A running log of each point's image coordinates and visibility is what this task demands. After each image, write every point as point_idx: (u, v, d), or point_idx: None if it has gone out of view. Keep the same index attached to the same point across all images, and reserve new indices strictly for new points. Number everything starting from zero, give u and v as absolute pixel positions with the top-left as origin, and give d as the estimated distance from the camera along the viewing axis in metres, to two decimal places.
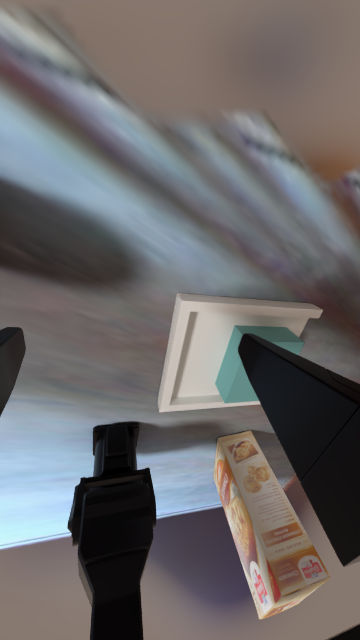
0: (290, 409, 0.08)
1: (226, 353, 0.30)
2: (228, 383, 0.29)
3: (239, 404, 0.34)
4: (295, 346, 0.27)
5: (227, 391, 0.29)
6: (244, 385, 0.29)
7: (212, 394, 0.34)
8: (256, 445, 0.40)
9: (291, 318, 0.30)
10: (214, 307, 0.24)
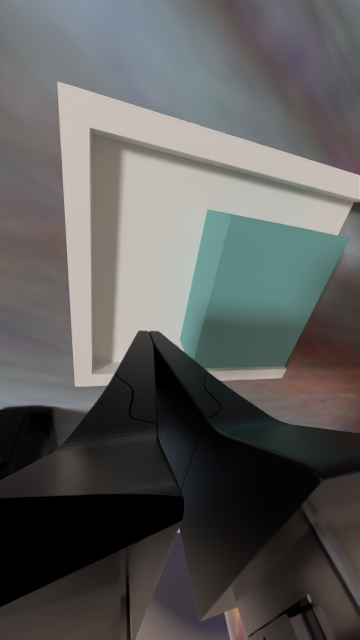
0: (168, 421, 0.07)
1: (195, 274, 0.16)
2: (196, 327, 0.15)
3: (224, 378, 0.20)
4: (330, 245, 0.13)
5: (195, 343, 0.15)
6: (228, 331, 0.15)
7: None
8: None
9: (317, 208, 0.16)
10: (150, 126, 0.10)
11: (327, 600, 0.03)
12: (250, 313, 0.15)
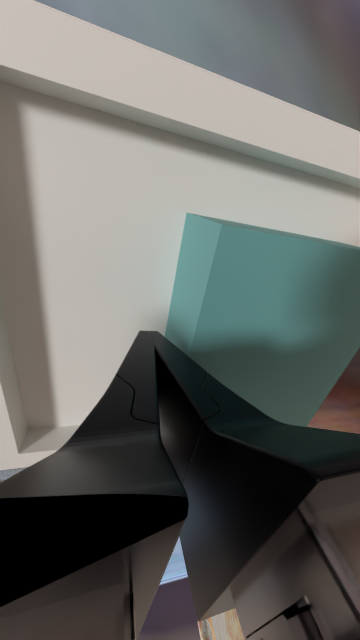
0: (167, 421, 0.07)
1: (171, 309, 0.11)
2: None
3: None
4: None
5: None
6: None
7: None
8: None
9: (352, 211, 0.11)
10: (53, 43, 0.05)
11: (324, 601, 0.03)
12: (254, 376, 0.09)
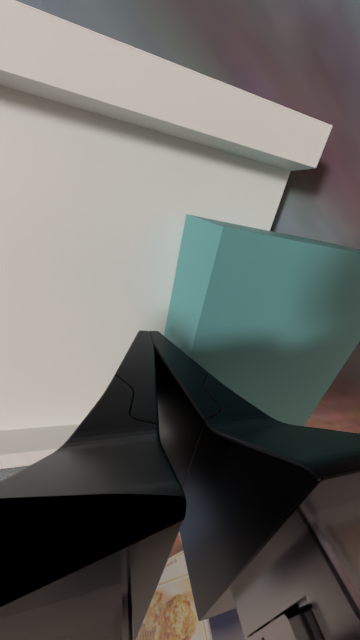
0: (168, 420, 0.07)
1: (170, 310, 0.11)
2: None
3: None
4: None
5: None
6: None
7: (31, 427, 0.13)
8: None
9: (221, 180, 0.09)
10: None
11: (325, 601, 0.03)
12: (253, 376, 0.09)
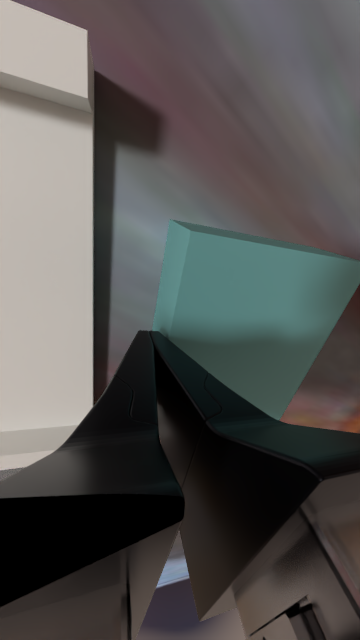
0: (168, 420, 0.07)
1: None
2: None
3: None
4: (343, 274, 0.09)
5: None
6: None
7: None
8: None
9: None
10: None
11: (326, 600, 0.03)
12: (229, 366, 0.10)
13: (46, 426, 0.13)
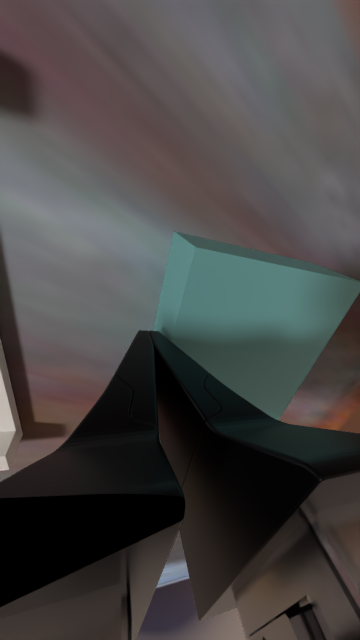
0: (168, 420, 0.07)
1: None
2: None
3: None
4: (339, 292, 0.10)
5: None
6: None
7: None
8: None
9: None
10: None
11: (326, 600, 0.03)
12: (226, 376, 0.11)
13: None
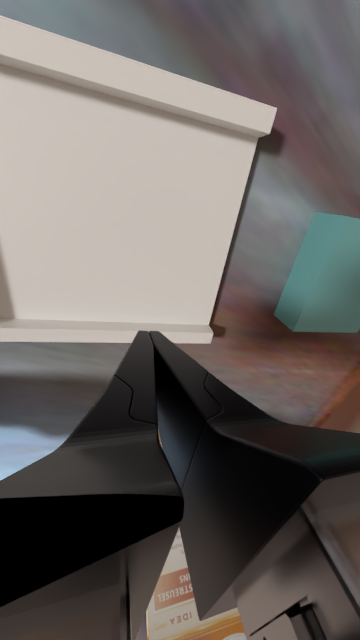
0: (169, 420, 0.07)
1: None
2: (299, 300, 0.20)
3: None
4: None
5: (297, 312, 0.21)
6: (324, 302, 0.20)
7: (91, 320, 0.19)
8: None
9: (214, 144, 0.15)
10: None
11: (327, 600, 0.03)
12: (342, 288, 0.20)
13: (184, 323, 0.21)
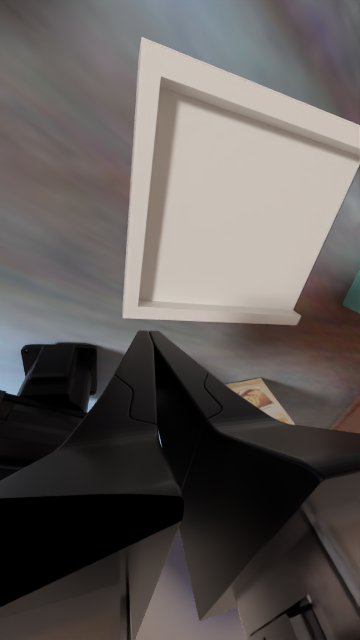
0: (169, 420, 0.07)
1: None
2: None
3: (247, 320, 0.23)
4: None
5: None
6: None
7: (206, 304, 0.23)
8: (269, 394, 0.29)
9: (331, 161, 0.19)
10: (206, 77, 0.13)
11: (327, 600, 0.03)
12: None
13: (275, 308, 0.25)
